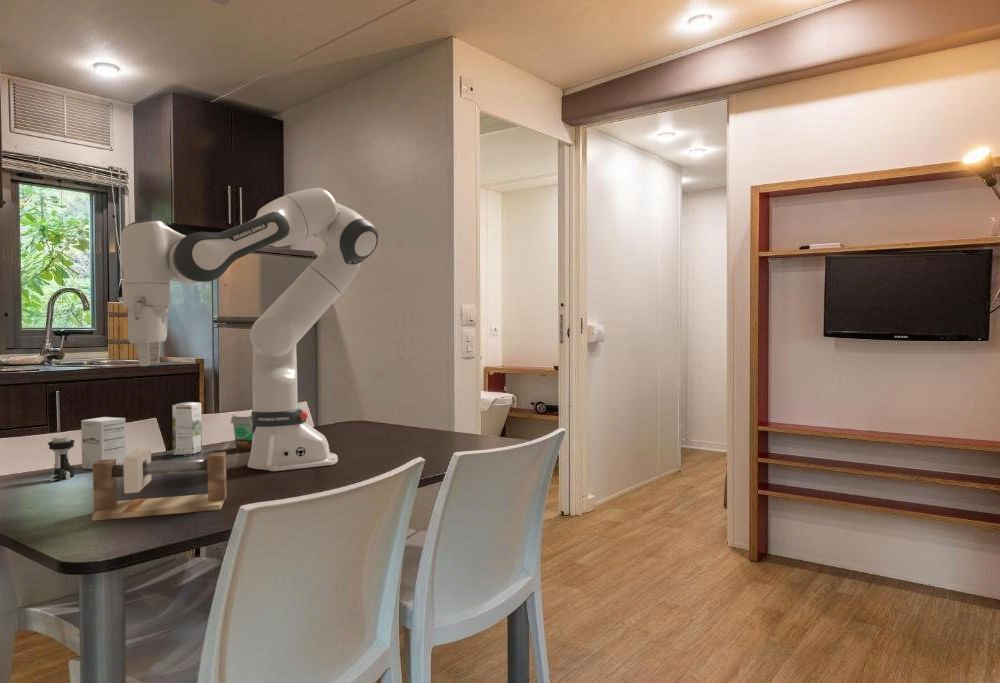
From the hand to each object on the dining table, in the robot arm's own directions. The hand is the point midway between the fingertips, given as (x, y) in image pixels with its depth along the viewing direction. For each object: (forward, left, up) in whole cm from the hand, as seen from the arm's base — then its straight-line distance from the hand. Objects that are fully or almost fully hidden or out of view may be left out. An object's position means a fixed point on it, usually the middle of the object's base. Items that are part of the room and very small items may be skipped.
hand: (149, 364), depth 138 cm
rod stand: (-4, +10, -28) cm, 30 cm away
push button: (+25, -27, -28) cm, 47 cm away
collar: (+1, +9, -23) cm, 25 cm away
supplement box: (+19, -40, -28) cm, 53 cm away
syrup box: (+1, -52, -28) cm, 60 cm away
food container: (-15, -53, -28) cm, 62 cm away
